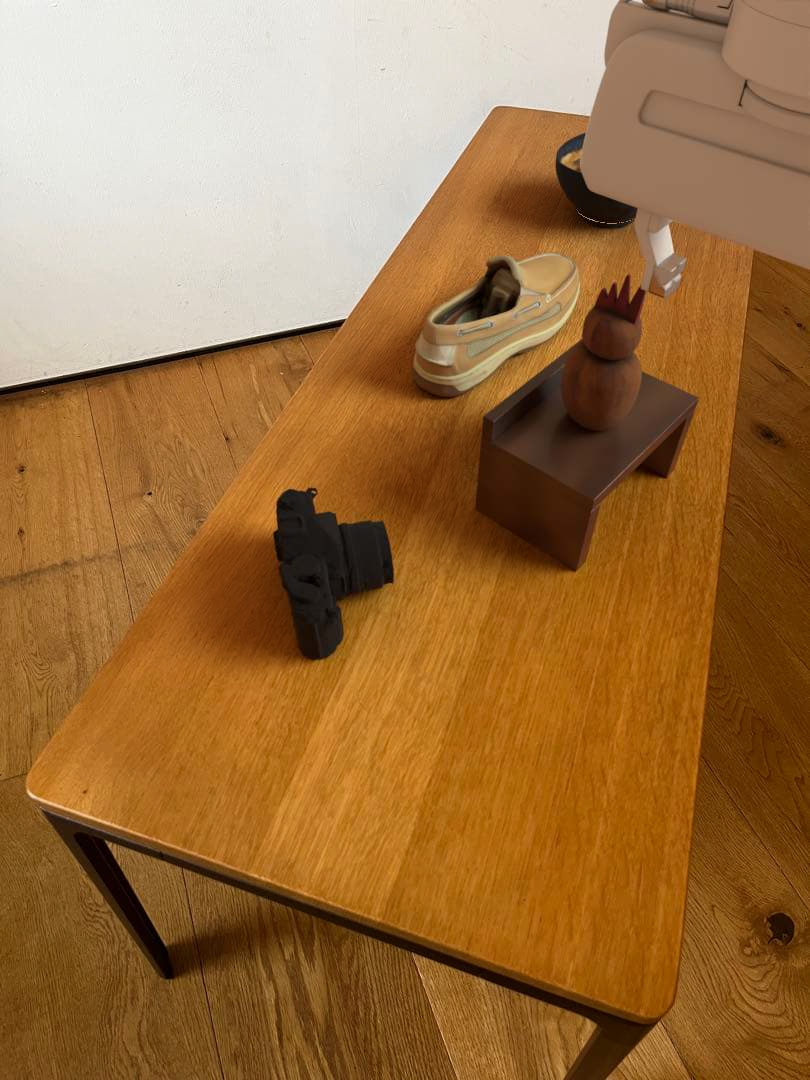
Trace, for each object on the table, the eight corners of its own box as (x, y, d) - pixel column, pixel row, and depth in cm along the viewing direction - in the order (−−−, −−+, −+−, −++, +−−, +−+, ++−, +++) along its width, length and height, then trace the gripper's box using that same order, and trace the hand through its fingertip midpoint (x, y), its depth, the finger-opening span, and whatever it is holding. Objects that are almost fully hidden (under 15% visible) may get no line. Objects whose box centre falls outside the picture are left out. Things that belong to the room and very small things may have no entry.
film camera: (407, 648, 67) (406, 584, 60) (294, 668, 66) (280, 605, 59) (375, 520, 77) (372, 452, 70) (277, 535, 76) (263, 468, 69)
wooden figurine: (641, 427, 71) (684, 277, 60) (592, 449, 69) (627, 299, 58) (593, 387, 75) (625, 239, 64) (545, 407, 73) (569, 259, 62)
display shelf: (674, 470, 81) (706, 376, 72) (576, 571, 72) (599, 480, 63) (576, 419, 86) (596, 327, 77) (474, 508, 78) (482, 416, 69)
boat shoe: (596, 300, 102) (613, 217, 94) (475, 419, 87) (482, 333, 78) (527, 275, 106) (537, 194, 98) (399, 384, 91) (398, 299, 82)
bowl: (530, 226, 115) (539, 156, 107) (573, 179, 125) (583, 112, 117) (644, 254, 109) (661, 183, 102) (679, 203, 119) (697, 134, 112)
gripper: (580, -16, 34) (540, 276, 44) (1129, 107, 25) (915, 438, 35) (655, -46, 37) (602, 234, 47) (1169, 53, 28) (961, 373, 38)
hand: (738, 322), depth 41 cm, fingers open, 8 cm apart
